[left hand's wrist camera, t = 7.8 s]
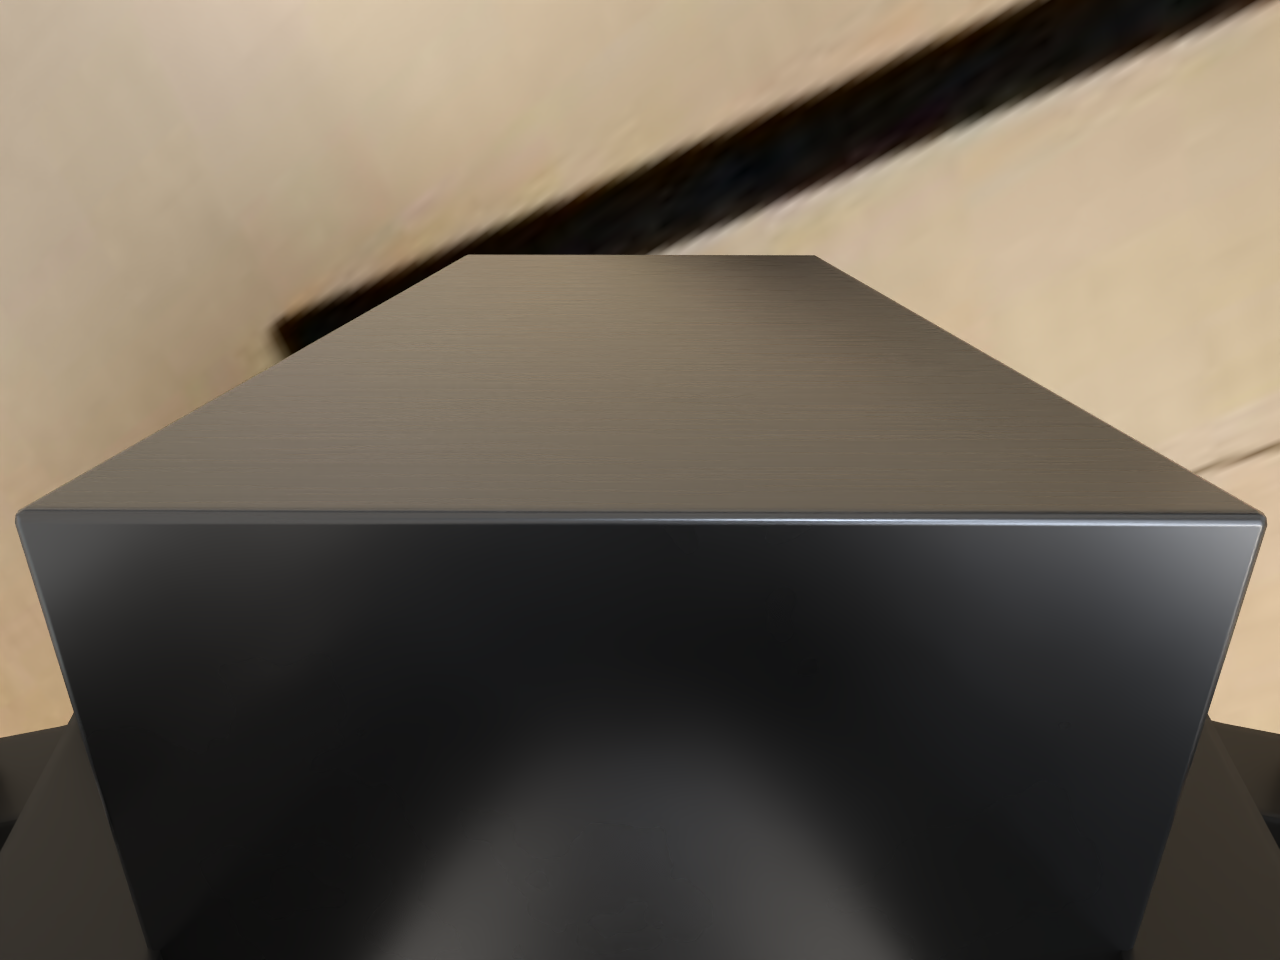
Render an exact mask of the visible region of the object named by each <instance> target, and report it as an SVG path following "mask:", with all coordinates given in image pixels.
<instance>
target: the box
mask: <svg viewBox="0 0 1280 960" xmlns="http://www.w3.org/2000/svg"><path fill="white" fill-rule="evenodd" d="M15 524H16V527H17V531H18V534H19V537H20V540H21V544H22V547H23V550H24V553H25V556H26V560H27V563H28V566H29V569H30V572H31V576H32V579H33V582H34V585H35V588H36V592H37V595H38V598H39V601H40V604H41V608H42V611H43V614H44V617H45V621H46V624H47V627H48V630H49V633H50V637H51V640H52V643H53V646H54V649H55V653H56V656H57V659H58V662H59V665H60V669H61V672H62V675H63V678H64V682H65V685H66V688H67V691H68V694H69V698H70V701H71V704H72V707H73V710H74V714H75V717H76V720H77V723H78V726H79V730H80V733H81V736H82V739H83V742H84V746H85V749H86V752H87V755H88V759H89V762H90V765H91V768H92V771H93V775H94V778H95V781H96V784H97V787H98V791H99V794H100V797H101V800H102V803H103V807H104V810H105V813H106V816H107V820H108V823H109V826H110V829H111V832H112V836H113V839H114V842H115V845H116V848H117V852H118V855H119V858H120V861H121V864H122V868H123V871H124V874H125V877H126V880H127V884H128V887H129V890H130V893H131V897H132V900H133V903H134V906H135V909H136V913H137V916H138V919H139V922H140V925H141V929H142V932H143V935H144V938H145V941H146V945H147V948H149V949H151V950H160V953H161V956H162V959H163V960H1118V958H1119V955H1120V952H1121V951H1128V950H1130V949H1132V948H1133V947H1134V944H1135V941H1136V938H1137V935H1138V931H1139V928H1140V925H1141V922H1142V919H1143V916H1144V912H1145V909H1146V906H1147V903H1148V900H1149V897H1150V894H1151V890H1152V887H1153V884H1154V881H1155V878H1156V875H1157V871H1158V868H1159V865H1160V862H1161V859H1162V856H1163V852H1164V849H1165V846H1166V843H1167V840H1168V837H1169V834H1170V830H1171V827H1172V824H1173V821H1174V818H1175V815H1176V811H1177V808H1178V805H1179V802H1180V799H1181V796H1182V793H1183V789H1184V786H1185V783H1186V780H1187V777H1188V774H1189V770H1190V767H1191V764H1192V761H1193V758H1194V755H1195V751H1196V748H1197V745H1198V742H1199V739H1200V736H1201V733H1202V729H1203V726H1204V723H1205V720H1206V717H1207V714H1208V710H1209V707H1210V704H1211V701H1212V698H1213V695H1214V691H1215V688H1216V685H1217V682H1218V679H1219V676H1220V673H1221V669H1222V666H1223V663H1224V660H1225V657H1226V654H1227V650H1228V647H1229V644H1230V641H1231V638H1232V635H1233V631H1234V628H1235V625H1236V622H1237V619H1238V616H1239V613H1240V609H1241V606H1242V603H1243V600H1244V597H1245V594H1246V590H1247V587H1248V584H1249V581H1250V578H1251V575H1252V571H1253V568H1254V565H1255V562H1256V559H1257V556H1258V553H1259V549H1260V546H1261V543H1262V540H1263V537H1264V534H1265V530H1266V527H1267V519H1266V516H1265V515H1264V513H1262V512H1261V511H1259V510H1257V509H1255V508H1254V507H1252V506H1250V505H1249V504H1247V503H1245V502H1243V501H1242V500H1240V499H1238V498H1236V497H1235V496H1233V495H1231V494H1229V493H1228V492H1226V491H1224V490H1222V489H1221V488H1219V487H1217V486H1215V485H1214V484H1212V483H1210V482H1208V481H1207V480H1205V479H1203V478H1202V477H1200V476H1198V475H1196V474H1195V473H1193V472H1191V471H1189V470H1188V469H1186V468H1184V467H1182V466H1181V465H1179V464H1177V463H1175V462H1174V461H1172V460H1170V459H1168V458H1167V457H1165V456H1163V455H1161V454H1160V453H1158V452H1156V451H1154V450H1153V449H1151V448H1149V447H1148V446H1146V445H1144V444H1142V443H1141V442H1139V441H1137V440H1135V439H1134V438H1132V437H1130V436H1128V435H1127V434H1125V433H1123V432H1121V431H1120V430H1118V429H1116V428H1114V427H1113V426H1111V425H1109V424H1107V423H1106V422H1104V421H1102V420H1101V419H1099V418H1097V417H1095V416H1094V415H1092V414H1090V413H1088V412H1087V411H1085V410H1083V409H1081V408H1080V407H1078V406H1076V405H1074V404H1073V403H1071V402H1069V401H1067V400H1066V399H1064V398H1062V397H1060V396H1059V395H1057V394H1055V393H1053V392H1052V391H1050V390H1048V389H1047V388H1045V387H1043V386H1041V385H1040V384H1038V383H1036V382H1034V381H1033V380H1031V379H1029V378H1027V377H1026V376H1024V375H1022V374H1020V373H1019V372H1017V371H1015V370H1013V369H1012V368H1010V367H1008V366H1006V365H1005V364H1003V363H1001V362H1000V361H998V360H996V359H994V358H993V357H991V356H989V355H987V354H986V353H984V352H982V351H980V350H979V349H977V348H975V347H973V346H972V345H970V344H968V343H966V342H965V341H963V340H961V339H959V338H958V337H956V336H954V335H952V334H951V333H949V332H947V331H946V330H944V329H942V328H940V327H939V326H937V325H935V324H933V323H932V322H930V321H928V320H926V319H925V318H923V317H921V316H919V315H918V314H916V313H914V312H912V311H911V310H909V309H907V308H905V307H904V306H902V305H900V304H899V303H897V302H895V301H893V300H892V299H890V298H888V297H886V296H885V295H883V294H881V293H879V292H878V291H876V290H874V289H872V288H871V287H869V286H867V285H865V284H864V283H862V282H860V281H858V280H857V279H855V278H853V277H851V276H850V275H848V274H846V273H845V272H843V271H841V270H839V269H838V268H836V267H834V266H832V265H831V264H829V263H827V262H825V261H824V260H822V259H820V258H818V257H817V256H812V255H467V256H465V257H463V258H461V259H459V260H458V261H456V262H454V263H452V264H451V265H449V266H447V267H445V268H444V269H442V270H440V271H438V272H436V273H435V274H433V275H431V276H429V277H428V278H426V279H424V280H422V281H421V282H419V283H417V284H415V285H414V286H412V287H410V288H408V289H407V290H405V291H403V292H401V293H400V294H398V295H396V296H394V297H393V298H391V299H389V300H387V301H386V302H384V303H382V304H380V305H379V306H377V307H375V308H373V309H372V310H370V311H368V312H366V313H364V314H363V315H361V316H359V317H357V318H356V319H354V320H352V321H350V322H349V323H347V324H345V325H343V326H342V327H340V328H338V329H336V330H335V331H333V332H331V333H329V334H328V335H326V336H324V337H322V338H321V339H319V340H317V341H315V342H314V343H312V344H310V345H308V346H307V347H305V348H303V349H301V350H300V351H298V352H296V353H294V354H292V355H291V356H289V357H287V358H285V359H284V360H282V361H280V362H278V363H277V364H275V365H273V366H271V367H270V368H268V369H266V370H264V371H263V372H261V373H259V374H257V375H256V376H254V377H252V378H250V379H249V380H247V381H245V382H243V383H242V384H240V385H238V386H236V387H235V388H233V389H231V390H229V391H227V392H226V393H224V394H222V395H220V396H219V397H217V398H215V399H213V400H212V401H210V402H208V403H206V404H205V405H203V406H201V407H199V408H198V409H196V410H194V411H192V412H191V413H189V414H187V415H185V416H184V417H182V418H180V419H178V420H177V421H175V422H173V423H171V424H170V425H168V426H166V427H164V428H163V429H161V430H159V431H157V432H155V433H154V434H152V435H150V436H148V437H147V438H145V439H143V440H141V441H140V442H138V443H136V444H134V445H133V446H131V447H129V448H127V449H126V450H124V451H122V452H120V453H119V454H117V455H115V456H113V457H112V458H110V459H108V460H106V461H105V462H103V463H101V464H99V465H98V466H96V467H94V468H92V469H91V470H89V471H87V472H85V473H83V474H82V475H80V476H78V477H76V478H75V479H73V480H71V481H69V482H68V483H66V484H64V485H62V486H61V487H59V488H57V489H55V490H54V491H52V492H50V493H48V494H47V495H45V496H43V497H41V498H40V499H38V500H36V501H34V502H33V503H31V504H29V505H27V506H26V507H24V508H22V509H20V510H19V511H18V512H17V514H16V518H15Z"/></svg>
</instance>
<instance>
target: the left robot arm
mask: <svg viewBox="0 0 1280 960" xmlns="http://www.w3.org/2000/svg"><path fill="white" fill-rule="evenodd" d="M0 960H163V959H162V956H161V953H160V950H151V949H149V948H147V945H146V941H145V938H144V935H143V932H142V929H141V925H140V922H139V919H138V916H137V913H136V909H135V906H134V903H133V900H132V897H131V893H130V890H129V887H128V884H127V880H126V877H125V874H124V871H123V868H122V864H121V861H120V858H119V855H118V852H117V848H116V845H115V842H114V839H113V836H112V832H111V829H110V826H109V823H108V820H107V816H106V813H105V810H104V807H103V803H102V800H101V797H100V794H99V791H98V787H97V784H96V781H95V778H94V775H93V771H92V768H91V765H90V762H89V759H88V755H87V752H86V749H85V746H84V742H83V739H82V736H81V733H80V730H79V726H78V723H77V720H76V717H75V714H74V713H73V715H72V717H71V719H70V721H69V723H68V725H64V726H60V727H56V728H50V729H45V730H40V731H35V732H29V733H24V734H19V735H14V736H8V737H3V738H0ZM1118 960H1280V734H1276V733H1271V732H1266V731H1260V730H1255V729H1250V728H1245V727H1239V726H1234V725H1229V724H1224V723H1219V722H1215V721H1211V719H1210V717H1209V716H1208V714H1207V717H1206V720H1205V723H1204V726H1203V729H1202V733H1201V736H1200V739H1199V742H1198V745H1197V748H1196V751H1195V755H1194V758H1193V761H1192V764H1191V767H1190V770H1189V774H1188V777H1187V780H1186V783H1185V786H1184V789H1183V793H1182V796H1181V799H1180V802H1179V805H1178V808H1177V811H1176V815H1175V818H1174V821H1173V824H1172V827H1171V830H1170V834H1169V837H1168V840H1167V843H1166V846H1165V849H1164V852H1163V856H1162V859H1161V862H1160V865H1159V868H1158V871H1157V875H1156V878H1155V881H1154V884H1153V887H1152V890H1151V894H1150V897H1149V900H1148V903H1147V906H1146V909H1145V912H1144V916H1143V919H1142V922H1141V925H1140V928H1139V931H1138V935H1137V938H1136V941H1135V944H1134V947H1133V948H1132V949H1130V950H1128V951H1121V952H1120V955H1119V958H1118Z"/></svg>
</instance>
